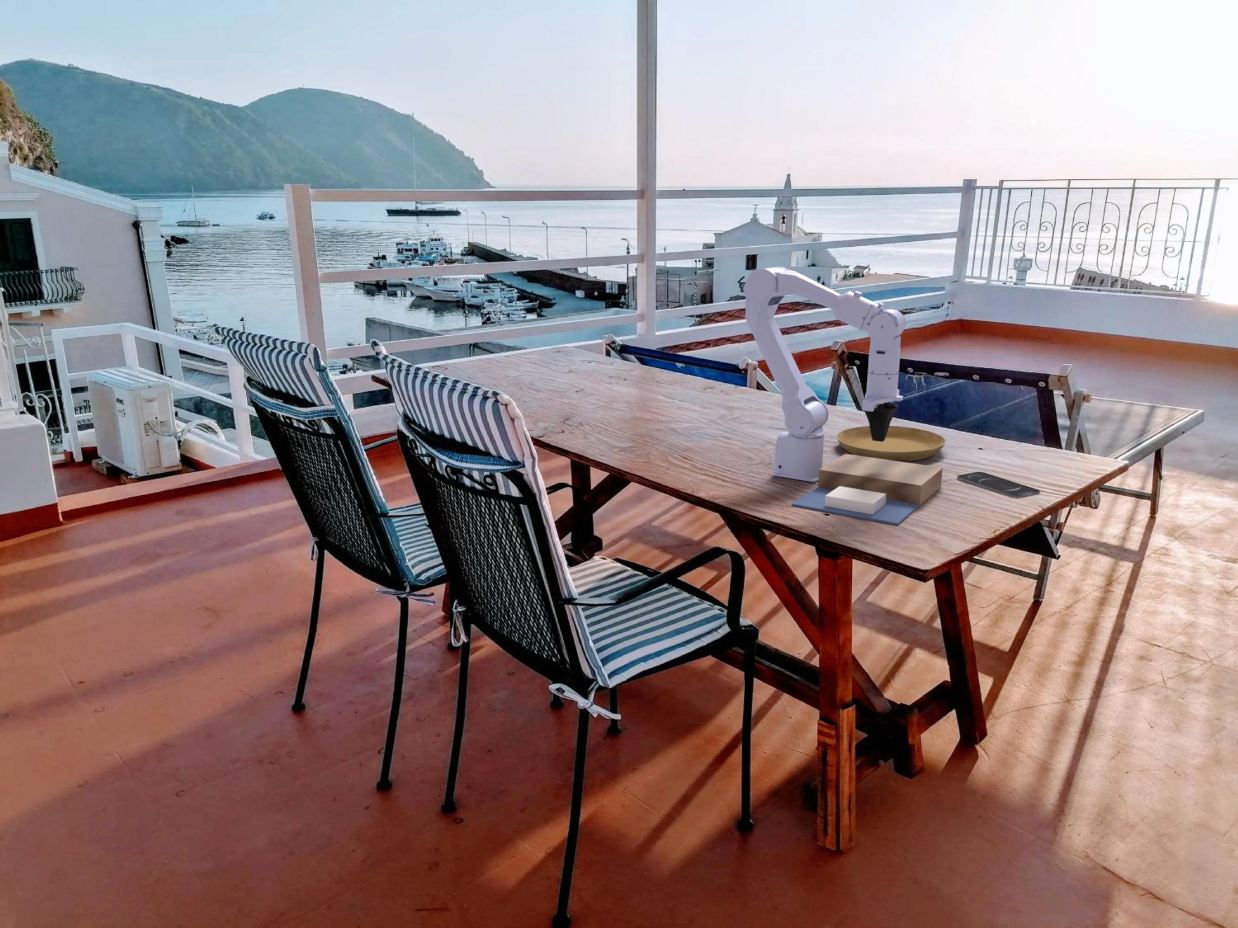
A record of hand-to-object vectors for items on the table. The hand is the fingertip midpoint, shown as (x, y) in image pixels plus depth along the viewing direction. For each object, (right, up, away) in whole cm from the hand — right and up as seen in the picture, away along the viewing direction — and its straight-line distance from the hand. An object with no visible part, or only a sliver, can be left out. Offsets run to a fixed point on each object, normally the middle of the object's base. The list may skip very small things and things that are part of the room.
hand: (878, 440), depth 166 cm
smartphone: (+24, -9, +1) cm, 26 cm away
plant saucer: (+12, -2, +29) cm, 31 cm away
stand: (+1, -9, +1) cm, 10 cm away
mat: (-7, -13, -9) cm, 17 cm away
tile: (-7, -10, -10) cm, 16 cm away
